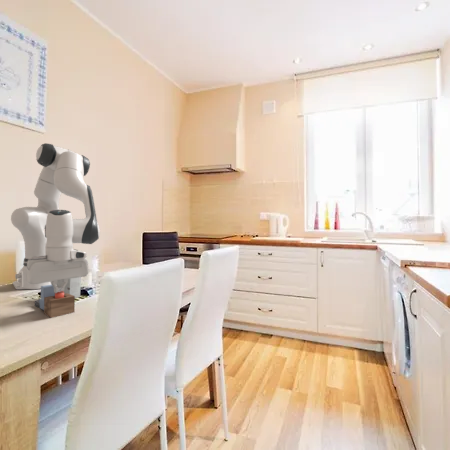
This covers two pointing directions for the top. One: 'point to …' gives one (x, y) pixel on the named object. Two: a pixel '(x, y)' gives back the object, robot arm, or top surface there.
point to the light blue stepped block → (46, 294)
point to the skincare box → (72, 286)
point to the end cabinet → (59, 305)
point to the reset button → (59, 295)
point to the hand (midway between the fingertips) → (59, 292)
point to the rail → (37, 303)
